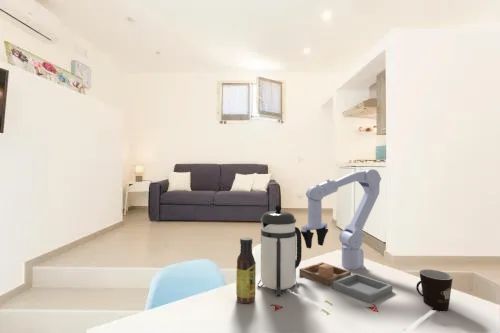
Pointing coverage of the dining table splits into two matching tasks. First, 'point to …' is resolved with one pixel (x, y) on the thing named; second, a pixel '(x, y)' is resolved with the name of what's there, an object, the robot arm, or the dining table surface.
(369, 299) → the grey bin
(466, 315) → the dining table surface
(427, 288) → the coffee mug
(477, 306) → the dining table surface
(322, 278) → the walnut crate
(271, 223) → the coffee press
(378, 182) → the robot arm
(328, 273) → the terracotta block
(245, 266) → the sauce bottle
